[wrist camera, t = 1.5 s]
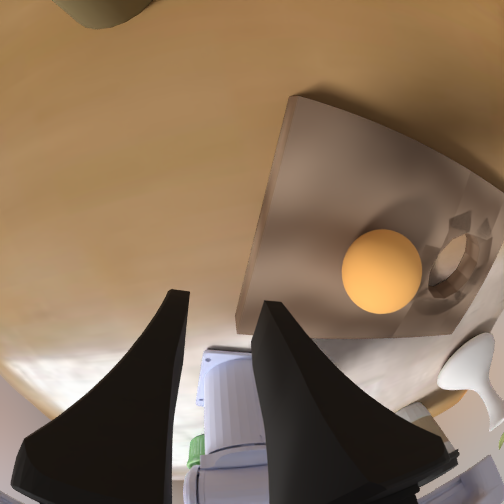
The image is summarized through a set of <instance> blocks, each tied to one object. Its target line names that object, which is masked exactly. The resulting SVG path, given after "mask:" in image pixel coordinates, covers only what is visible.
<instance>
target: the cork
mask: <svg viewBox="0 0 504 504" xmlns="http://www.w3.org/2000/svg"><path fill="white" fill-rule="evenodd" d="M52 1H53V2H55V3H56V4H57V5H58V6H59V7H60V8H62V9H63V10H64V11H65V12H66V13H67V14H69V15H70V16H71V17H72V18H73V19H74V20H75V21H77V22H78V23H79V24H81V25H83V26H84V27H86V28H92V29H104V28H111V27H114V26H116V25H119V24H121V23H124V22H126V21H128V20H129V19H131V18H133V17H134V16H136V15H137V14H139V13H140V12H141V11H142V10H143V9H144V8H145V7H146V6H147V5H148V4H150V3H151V1H152V0H52Z"/></svg>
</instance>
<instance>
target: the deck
mask: <svg viewBox="0 0 504 504" xmlns="http://www.w3.org/2000/svg"><path fill="white" fill-rule="evenodd" d="M379 229H386V230H392V231H395V232H398V233H400V234H402V235H403V236H405V237H406V238H407V239H409V240H410V241H411V243H412V244H413V245H414V246H415V248H416V250H417V251H418V254H419V256H420V259H421V264H422V278H421V283H420V286H419V288H418V291H417V293H416V294H415V296H414V297H413V299H412V300H411V301H410V302H409V303H408V304H407V305H406V306H404V307H403V308H401V309H399V310H397V311H395V312H392V313H387V314H376V313H371V312H368V311H366V310H363V309H362V308H360V307H359V306H357V305H356V304H355V303H354V302H353V301H352V300H351V298H350V297H349V296H348V294H347V292H346V290H345V288H344V285H343V280H342V264H343V260H344V257H345V255H346V252H347V250H348V249H349V247H350V246H351V244H352V243H353V242H354V241H355V240H356V239H357V238H359V237H360V236H361V235H363V234H365V233H367V232H370V231H373V230H379ZM463 234H466V237H467V241H466V250H465V254H464V256H463V258H462V260H461V262H460V264H459V266H458V268H457V269H456V270H455V271H454V273H453V274H452V275H451V276H450V277H449V278H448V279H447V280H446V281H444V282H442V283H440V284H438V285H435V286H428V283H429V273H430V271H431V269H432V267H433V265H434V263H435V261H436V259H437V257H438V255H439V253H440V252H441V251H442V250H443V249H444V248H445V247H446V246H447V245H448V244H449V243H450V241H451V240H452V239H454V238H456V237H459V236H461V235H463ZM503 241H504V193H503V192H502V191H500V190H499V189H497V188H496V187H494V186H493V185H492V184H490V183H489V182H487V181H486V180H484V179H483V178H481V177H480V176H478V175H476V174H475V173H473V172H472V171H470V170H468V169H467V168H465V167H464V166H462V165H460V164H458V163H457V162H455V161H453V160H452V159H450V158H448V157H446V156H444V155H443V154H441V153H439V152H437V151H435V150H433V149H432V148H430V147H428V146H426V145H424V144H422V143H420V142H418V141H416V140H414V139H412V138H410V137H407V136H405V135H403V134H401V133H399V132H397V131H394V130H392V129H390V128H388V127H385V126H383V125H381V124H378V123H376V122H373V121H371V120H368V119H366V118H363V117H361V116H358V115H355V114H353V113H350V112H347V111H345V110H342V109H339V108H336V107H333V106H330V105H327V104H324V103H321V102H318V101H314V100H311V99H308V98H304V97H301V96H291V97H289V100H288V104H287V108H286V112H285V116H284V120H283V124H282V128H281V132H280V136H279V140H278V144H277V148H276V152H275V156H274V160H273V164H272V168H271V172H270V176H269V180H268V184H267V188H266V192H265V196H264V201H263V205H262V209H261V213H260V217H259V221H258V225H257V229H256V233H255V237H254V241H253V245H252V249H251V253H250V257H249V261H248V265H247V269H246V274H245V278H244V282H243V286H242V290H241V294H240V298H239V302H238V306H237V310H236V314H235V319H236V330H237V334H245V335H253V334H254V331H255V328H256V325H257V322H258V318H259V315H260V312H261V309H262V306H263V302H264V300H268V301H278V302H282V303H283V304H284V306H285V307H286V308H287V309H288V311H289V312H290V313H291V314H292V316H293V317H294V318H295V320H296V321H297V322H298V323H299V325H300V326H301V327H302V328H303V330H304V331H305V332H306V333H307V335H308V336H309V337H310V338H327V339H371V338H403V337H422V336H436V335H448V334H452V333H453V331H454V330H455V328H456V327H457V325H458V324H459V322H460V321H461V319H462V318H463V316H464V314H465V313H466V311H467V310H468V308H469V306H470V305H471V303H472V301H473V300H474V298H475V296H476V295H477V293H478V291H479V289H480V288H481V286H482V284H483V282H484V280H485V278H486V277H487V275H488V273H489V271H490V269H491V267H492V265H493V263H494V261H495V259H496V257H497V254H498V252H499V250H500V248H501V246H502V243H503Z"/></svg>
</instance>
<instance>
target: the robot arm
mask: <svg viewBox="0 0 504 504" xmlns="http://www.w3.org/2000/svg"><path fill="white" fill-rule="evenodd" d="M189 296H190V292H189V291H182V290H174V289H171V290H169V291H168V292H167V295H166V297H165V299H164V301H163V303H162V304H161V306H160V308H159V309H158V311H157V313H156V314H155V316H154V317H153V319H152V320H151V322H150V323H149V324H148V326H147V327H146V329H145V330H144V332H143V333H142V334H141V336H140V337H139V338H138V339H137V341H136V342H135V343H134V344H133V346H132V347H131V348H130V350H129V351H128V352H127V353H126V354H125V355H124V357H123V358H122V359H121V360H120V361H119V362H118V363H117V364H116V365H115V367H114V368H113V369H112V370H111V371H110V372H109V373H108V374H107V375H106V376H105V377H104V378H103V379H102V380H101V381H100V382H99V383H97V384H96V385H95V386H94V387H93V388H92V389H91V390H90V391H89V392H88V393H87V394H85V395H84V396H83V397H82V398H81V399H79V400H78V401H77V402H76V403H74V404H73V405H72V406H71V407H69V408H68V409H67V410H66V411H64V412H63V413H62V414H61V415H59V416H58V417H56V418H55V419H54V420H52V421H51V422H49V423H47V424H46V425H45V426H43V427H41V428H40V429H38V430H37V431H35V432H34V433H32V434H30V435H29V436H27V437H26V438H25V439H24V440H23V443H22V445H21V447H20V450H19V452H18V455H17V457H16V461H15V465H14V469H13V474H12V479H11V486H12V488H13V489H15V490H16V491H18V492H20V493H21V494H23V495H25V496H27V497H29V498H31V499H33V500H35V501H37V502H39V503H40V504H172V438H173V422H174V413H175V407H176V401H177V395H178V389H179V383H180V377H181V371H182V365H183V358H184V346H185V335H186V325H187V315H188V306H189ZM251 350H252V353H244V352H230V351H218V350H205V351H204V352H203V358H202V364H201V370H200V377H199V384H198V390H197V397H196V405H198V406H204V434H205V455H200V465H194V466H192V468H191V469H190V470H189V471H188V472H187V474H186V476H185V480H184V488H183V495H184V504H501V503H502V502H503V500H504V484H503V481H502V479H501V477H500V474H499V472H498V470H497V468H496V465H495V463H494V461H493V459H492V457H491V455H488V456H486V457H485V458H484V459H482V460H481V461H480V462H478V463H477V464H475V465H474V466H472V467H471V468H469V469H468V470H467V471H465V472H464V473H462V474H460V475H458V476H457V477H455V478H454V479H452V480H450V481H449V482H447V483H445V484H443V485H442V486H440V487H438V488H436V489H435V490H434V491H432V492H431V493H429V494H427V495H425V496H423V497H421V498H419V499H416V496H415V494H416V493H418V492H419V491H420V488H419V486H418V482H420V481H422V480H423V479H425V478H427V477H429V476H430V475H432V474H434V473H435V472H437V471H438V470H440V469H441V468H443V467H444V466H446V465H447V464H448V463H449V462H450V460H451V458H450V455H449V453H448V451H447V449H446V446H445V444H444V442H443V440H442V438H441V437H440V436H438V435H436V434H434V433H432V432H429V431H427V430H425V429H423V428H421V427H419V426H416V425H414V424H412V423H411V422H409V421H407V420H405V419H404V418H402V417H400V416H398V415H397V414H395V413H394V412H392V411H390V410H389V409H387V408H386V407H384V406H383V405H381V404H380V403H379V402H377V401H376V400H375V399H373V398H372V397H370V396H369V395H368V394H367V393H365V392H364V391H363V390H362V389H360V388H359V387H358V386H357V385H356V384H355V383H353V382H352V381H351V380H350V379H349V378H348V377H347V376H345V375H344V374H343V373H342V372H341V371H340V370H339V369H338V368H337V367H336V366H335V365H334V364H333V363H332V362H331V361H330V360H329V359H328V357H327V356H326V355H325V354H324V353H323V352H322V351H321V350H320V349H319V348H318V346H317V345H316V344H315V343H314V342H313V341H312V339H311V338H310V337H309V336H308V335H307V333H306V332H305V331H304V330H303V328H302V327H301V326H300V325H299V323H298V322H297V321H296V320H295V318H294V317H293V316H292V314H291V313H290V312H289V311H288V309H287V308H286V307H285V306H284V304H283V303H282V302H278V301H268V300H264V302H263V306H262V309H261V312H260V315H259V318H258V322H257V325H256V328H255V331H254V334H253V337H252V341H251ZM0 504H24V503H22V502H20V501H18V500H16V499H14V498H12V497H10V496H9V495H7V494H5V493H3V492H1V491H0Z"/></svg>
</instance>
